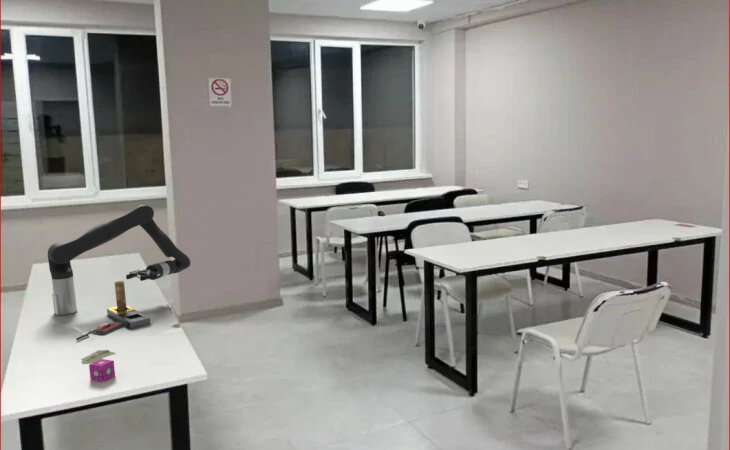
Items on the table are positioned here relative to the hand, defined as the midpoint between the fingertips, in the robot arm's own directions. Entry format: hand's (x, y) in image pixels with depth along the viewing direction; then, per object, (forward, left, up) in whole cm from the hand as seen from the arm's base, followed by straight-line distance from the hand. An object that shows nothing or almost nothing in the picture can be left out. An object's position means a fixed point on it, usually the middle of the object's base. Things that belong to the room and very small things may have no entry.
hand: (133, 278), depth 288 cm
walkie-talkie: (-23, -21, -17) cm, 36 cm away
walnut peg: (-9, -6, -15) cm, 19 cm away
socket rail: (-9, -13, -16) cm, 23 cm away
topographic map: (-34, -50, -17) cm, 62 cm away
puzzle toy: (-39, -69, -17) cm, 81 cm away
